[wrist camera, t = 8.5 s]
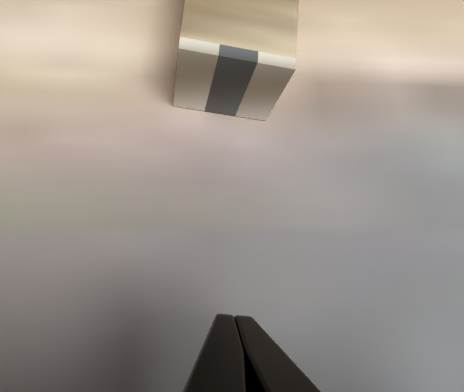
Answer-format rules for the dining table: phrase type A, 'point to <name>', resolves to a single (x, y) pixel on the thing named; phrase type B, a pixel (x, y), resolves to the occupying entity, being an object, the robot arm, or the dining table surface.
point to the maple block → (235, 55)
